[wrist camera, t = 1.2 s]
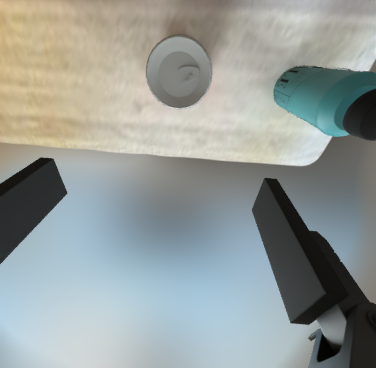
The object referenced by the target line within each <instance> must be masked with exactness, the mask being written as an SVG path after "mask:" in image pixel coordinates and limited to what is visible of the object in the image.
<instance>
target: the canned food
mask: <svg viewBox="0 0 376 368" xmlns="http://www.w3.org/2000/svg"><path fill="white" fill-rule="evenodd" d="M146 78H147V83H148V86H149V88H150V91H151V92H152V94H153V95H154V97H155V98H156V99H157V100H158V101H159V102H160V103H162V104H163V105H165V106H167V107H169V108H173V109H186V108H189V107H192V106H194V105H196V104H197V103H198V102H199V101H201V100H202V99H203V97H204V96H205V95H206V93H207V91H208V89H209V87H210V84H211V80H212V64H211V60H210V57H209V55H208V53H207V51H206V50H205V48H204V47H203V46H202V45H201V44H200V43H199V42H198V41H197V40H195V39H193V38H192V37H189V36H186V35H173V36H169V37H167V38H165V39H163V40H162V41H160V42H159V43H158V44H157V45H156V46H155V47H154V48H153V50H152V51H151V53H150V55H149V58H148V61H147V66H146Z"/></svg>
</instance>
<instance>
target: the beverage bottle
mask: <svg viewBox="0 0 376 368" xmlns="http://www.w3.org/2000/svg"><path fill="white" fill-rule="evenodd" d="M329 68H330V67H329ZM329 68H328V69H327V68H322V67H316V66H315V67H312V66H310V67H308V65H306V67H304V66H298V67H297V66H296V67H295V66H294V68H291V69H288V71H286V72H284V73H283V74H282V75H281V77H280V78H279V79H278V81H277V83H276V85H275V88H274V99H275V100H274V101H276V103H277V104H278V105H279V106H280V107H282V108H284V109H285V110H287V112H288V113H289V112H290V113H292V114H294V115H296V116H298V118H299V117H300V119H303V120H304V121H306V122H308V123H309V124H311V125H313V126H314V127H316V128H318V129H319V130H320V131H321V132H323V133H324V134H326V135H329V136H345V135H349V134H351V135H353V136H356V137H360V138H362V139H365V140H370V141H375V140H376V73H374V72H368V71H363V72H360V71H359V72H357V71H350V70H351V69H350V70H349V69H348V68H346V69H348V70H349V71H348V70H338V68H337V69H329ZM333 68H334V67H333ZM344 69H345V68H344ZM294 115H293V116H294Z"/></svg>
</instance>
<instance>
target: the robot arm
mask: <svg viewBox="0 0 376 368" xmlns="http://www.w3.org/2000/svg"><path fill="white" fill-rule="evenodd" d="M66 194H67V191H66V189H65V186H64V184H63V181H62V179H61V176H60V174H59V171H58V169H57V166H56V164H55V162H54V159H52V158H39V159H38V160H36V161H35V162H33V163H32V164H30V165H29V166H27V167H26V168H24V169H23V170H21V171H19V172H18V173H16V174H15V175H13V176H12V177H10V178H9V179H7V180H5V181H4V182H2V183H1V184H0V264H1V263H2V262H3V261H4V260H5V258H6V257H8V255H9V254H10V253H11V252H12V251H13V250H14V249H15V248H16V247H17V246H18V245H19V244H20V243H21V242H22V241H23V240H24V238H26V236H27V235H28V234H29V233H30V232H31V231H32V230H33V229H34V228H35V227H36V226H37V225H38V224H39V223H40V222H41V221H42V219H44V217H45V216H46V215H47V214H48V213H49V212H50V211H51V210H52V209H53V208H54V207H55V206H56V205H57V204H58V203H59V202H60V201H61V200H62V199H63V197H64V196H65V195H66ZM252 212H253V215H254V218H255V221H256V224H257V226H258V229H259V232H260V235H261V238H262V241H263V244H264V247H265V250H266V253H267V255H268V259H269V261H270V264H271V267H272V270H273V273H274V276H275V279H276V282H277V285H278V288H279V291H280V294H281V297H282V299H283V302H284V305H285V308H286V311H287V314H288V317H289V320H290V323H295V324H306V325H309V324H310V323H312V322H314V321H315V320H316V319H317V321H318V323H319V326H320V329H318V330H317V331H315V332H314V333H312V334H311V335H310V336H309V338H308V339H310V340H311V341H312V340H313V339H315V338H316V340H315V343H314V347H313V351H312V355H311V359H310V363H309V367H308V368H376V304H374V303H371V302H369V300H368V299H367V298H366V296H365V295H364V294H363V292H362V291H361V289H360V288H359V286H358V285H357V283H356V282H355V280H354V279H353V278H352V276H351V275H350V273H349V272H348V270H347V269H346V267H345V266H344V265H343V263H342V262H340V259H339V257H338V256H337V254H336V253H334V250H333V249H332V247H331V246H330V244H329V243H328V242H327V240H326V239H325V238H324V237H322V236H321V235H320V234H319V233H318V232H317V231H309V230H308V228H307V226H306V225H305V223H304V222H303V220H302V218H301V217H300V216H299V214H298V212H297V210H296V209H295V207H294V206H293V204H292V203H291V201H290V199H289V198H288V196H287V195H286V193H285V191H284V190H283V188H282V187H281V185H280V183H279V182H278V180H277V179H271V178H265V179H264V181H263V183H262V186H261V188H260V191H259V193H258V196H257V198H256V201H255V203H254V206H253V208H252Z"/></svg>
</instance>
